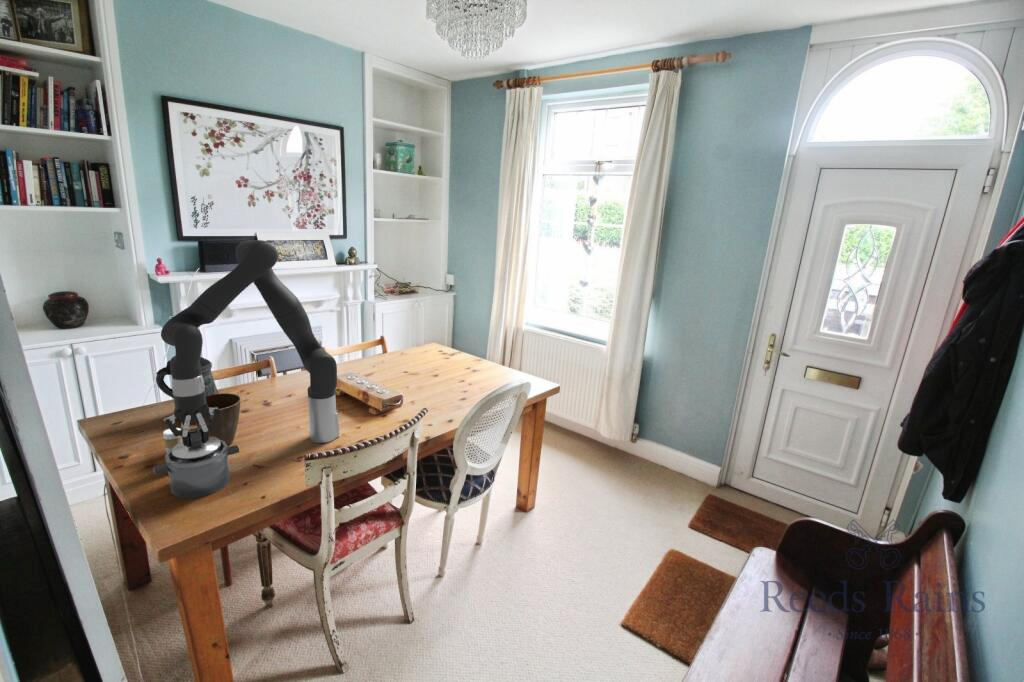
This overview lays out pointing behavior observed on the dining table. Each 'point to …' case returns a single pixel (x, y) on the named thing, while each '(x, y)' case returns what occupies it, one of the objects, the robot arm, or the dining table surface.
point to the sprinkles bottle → (170, 439)
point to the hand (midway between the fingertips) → (196, 444)
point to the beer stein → (206, 374)
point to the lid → (196, 446)
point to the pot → (198, 473)
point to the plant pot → (223, 416)
